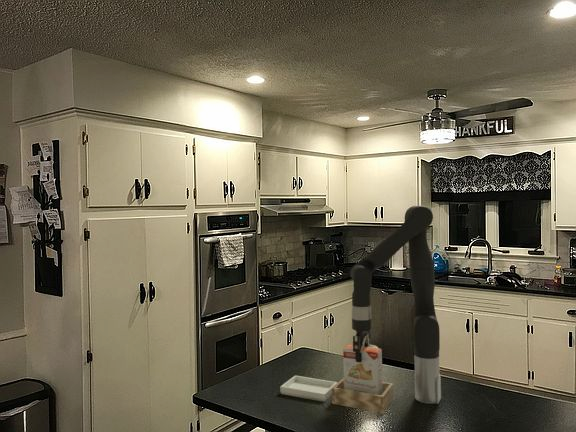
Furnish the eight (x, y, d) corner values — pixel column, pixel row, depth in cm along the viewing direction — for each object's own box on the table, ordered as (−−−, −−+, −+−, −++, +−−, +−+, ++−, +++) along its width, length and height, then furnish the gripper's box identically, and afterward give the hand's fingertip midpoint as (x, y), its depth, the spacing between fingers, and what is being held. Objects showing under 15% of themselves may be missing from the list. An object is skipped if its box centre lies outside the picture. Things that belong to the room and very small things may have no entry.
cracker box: (343, 401, 184) (342, 347, 183) (348, 395, 189) (347, 343, 189) (378, 407, 177) (377, 352, 177) (383, 401, 183) (382, 347, 182)
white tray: (337, 389, 195) (337, 382, 195) (324, 402, 183) (324, 394, 183) (295, 382, 204) (295, 375, 204) (280, 393, 192) (280, 386, 192)
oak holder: (393, 398, 185) (393, 383, 185) (383, 413, 172) (383, 396, 172) (345, 390, 194) (345, 376, 194) (332, 403, 182) (332, 388, 181)
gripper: (365, 322, 174) (365, 365, 175) (376, 313, 187) (377, 354, 187) (345, 320, 178) (346, 363, 178) (358, 312, 190) (359, 352, 191)
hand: (362, 358), depth 183 cm, fingers open, 8 cm apart
